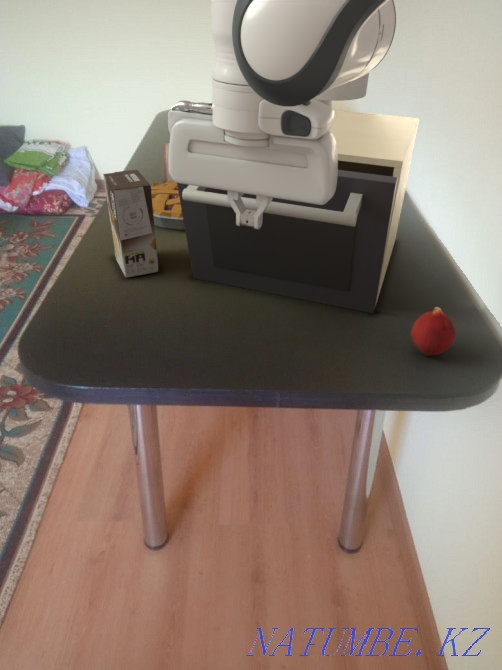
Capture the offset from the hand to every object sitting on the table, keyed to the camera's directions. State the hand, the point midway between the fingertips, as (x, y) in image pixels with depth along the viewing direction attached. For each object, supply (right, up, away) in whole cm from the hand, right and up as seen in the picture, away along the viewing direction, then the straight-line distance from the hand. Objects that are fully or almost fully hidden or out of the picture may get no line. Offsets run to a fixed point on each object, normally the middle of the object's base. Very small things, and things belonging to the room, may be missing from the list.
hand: (249, 226), depth 65 cm
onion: (+26, -17, +10) cm, 32 cm away
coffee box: (-21, -1, +31) cm, 38 cm away
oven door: (+4, -8, +22) cm, 24 cm away
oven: (+10, +2, +35) cm, 37 cm away
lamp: (+19, +35, +83) cm, 92 cm away
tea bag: (-18, +25, +68) cm, 74 cm away
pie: (-14, +14, +52) cm, 56 cm away
